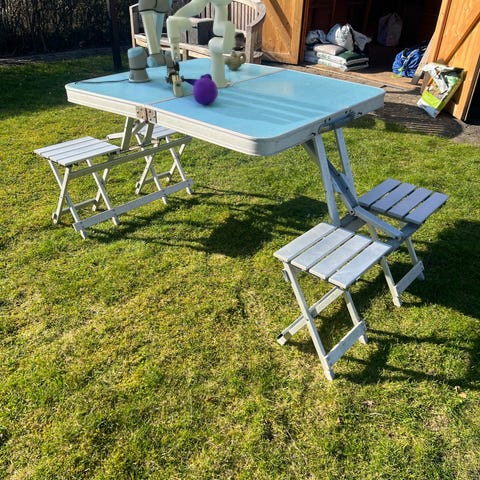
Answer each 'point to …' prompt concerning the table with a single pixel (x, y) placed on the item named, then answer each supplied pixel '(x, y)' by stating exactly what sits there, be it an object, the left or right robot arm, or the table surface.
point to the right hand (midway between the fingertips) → (176, 69)
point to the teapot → (235, 60)
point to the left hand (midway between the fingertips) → (176, 82)
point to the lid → (176, 77)
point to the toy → (204, 89)
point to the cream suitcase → (177, 88)
